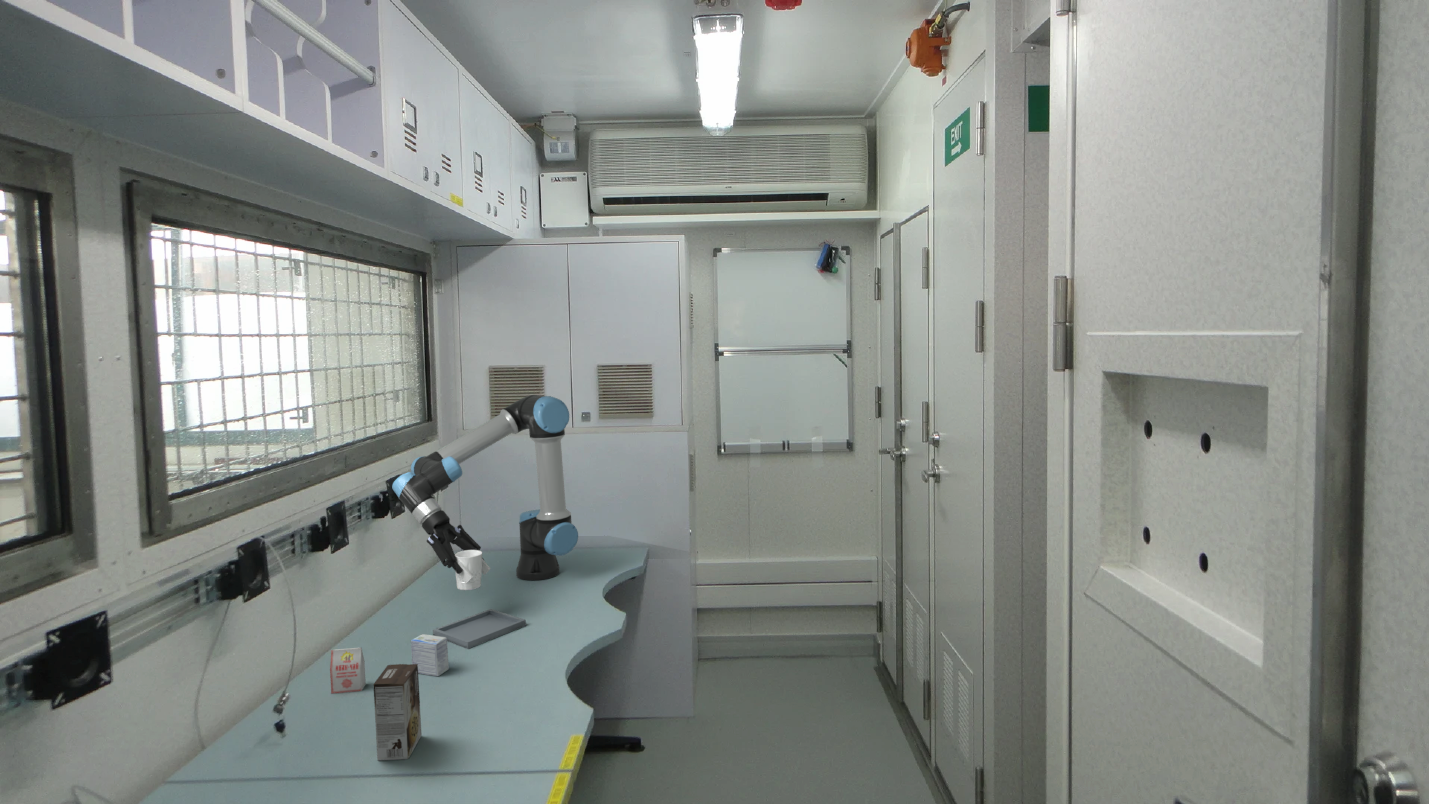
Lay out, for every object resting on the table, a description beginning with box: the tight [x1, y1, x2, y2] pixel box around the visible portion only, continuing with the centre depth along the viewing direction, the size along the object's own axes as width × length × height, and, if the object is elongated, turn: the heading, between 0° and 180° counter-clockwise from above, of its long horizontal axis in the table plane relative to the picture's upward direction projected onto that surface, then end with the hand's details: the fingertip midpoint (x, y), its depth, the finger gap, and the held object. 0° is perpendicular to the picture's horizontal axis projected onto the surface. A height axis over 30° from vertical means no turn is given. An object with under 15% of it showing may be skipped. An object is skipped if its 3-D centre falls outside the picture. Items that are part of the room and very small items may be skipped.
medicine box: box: [410, 633, 450, 677], centre depth 191 cm, size 8×4×9 cm, turn 71°
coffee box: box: [372, 663, 422, 761], centre depth 155 cm, size 9×6×16 cm
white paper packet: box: [329, 647, 367, 694], centre depth 182 cm, size 4×7×10 cm, turn 100°
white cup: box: [454, 550, 483, 591], centre depth 222 cm, size 8×8×10 cm
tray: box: [432, 608, 527, 650], centre depth 218 cm, size 20×16×2 cm
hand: (478, 575), depth 221 cm, fingers closed on white cup, 8 cm apart
